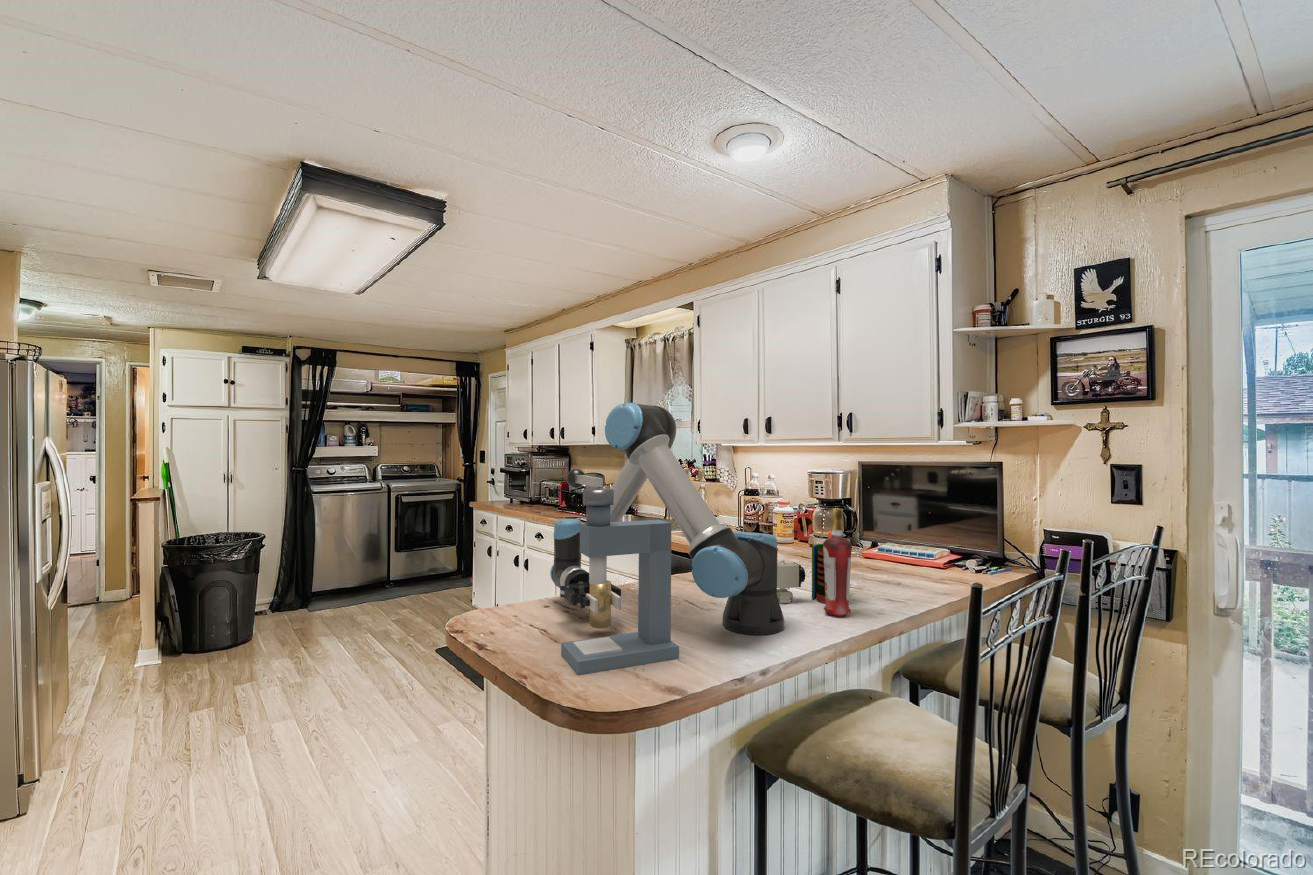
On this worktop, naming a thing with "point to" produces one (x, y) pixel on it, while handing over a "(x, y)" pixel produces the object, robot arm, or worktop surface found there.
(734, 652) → the worktop surface
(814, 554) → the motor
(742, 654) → the worktop surface
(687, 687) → the worktop surface
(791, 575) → the pneumatic valve
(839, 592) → the liquor
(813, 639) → the worktop surface
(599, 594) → the cylinder
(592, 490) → the lever
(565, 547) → the robot arm
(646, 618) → the press frame
